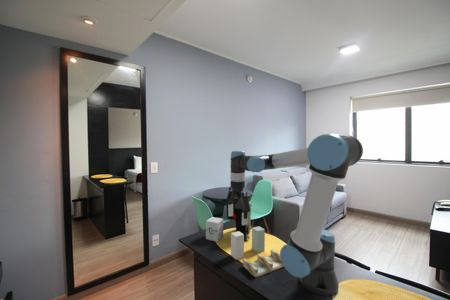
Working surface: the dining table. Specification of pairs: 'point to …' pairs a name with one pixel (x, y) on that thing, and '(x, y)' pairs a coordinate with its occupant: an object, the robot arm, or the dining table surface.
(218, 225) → the ink box
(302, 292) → the dining table surface
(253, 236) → the sage plug
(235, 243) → the white tall block
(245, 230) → the electrical component
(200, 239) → the dining table surface
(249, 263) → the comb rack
